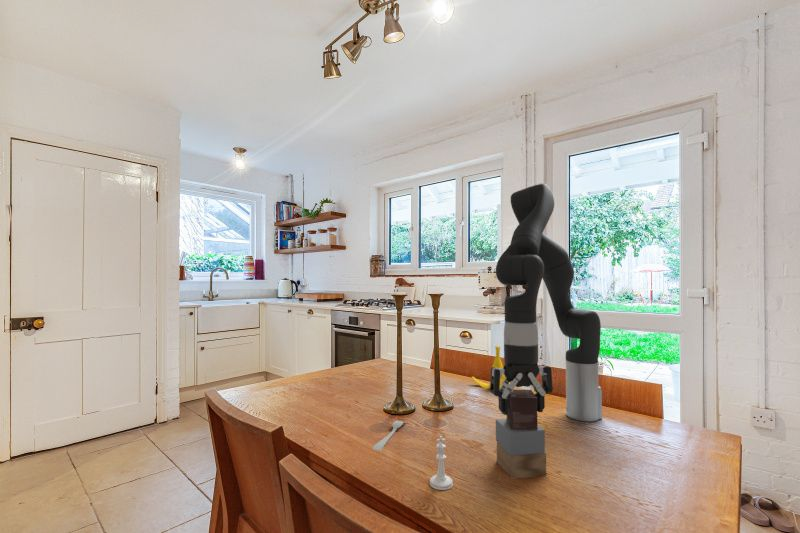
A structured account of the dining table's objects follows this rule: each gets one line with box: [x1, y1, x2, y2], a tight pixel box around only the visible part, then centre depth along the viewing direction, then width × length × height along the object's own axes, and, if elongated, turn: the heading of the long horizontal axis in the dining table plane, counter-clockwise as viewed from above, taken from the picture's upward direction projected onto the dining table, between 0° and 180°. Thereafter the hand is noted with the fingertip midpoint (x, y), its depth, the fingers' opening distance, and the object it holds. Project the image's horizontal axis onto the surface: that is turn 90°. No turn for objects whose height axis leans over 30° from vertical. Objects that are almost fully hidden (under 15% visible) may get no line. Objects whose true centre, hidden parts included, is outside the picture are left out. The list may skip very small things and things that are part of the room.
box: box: [506, 389, 539, 430], centre depth 89 cm, size 6×6×7 cm
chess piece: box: [429, 435, 454, 491], centre depth 83 cm, size 5×5×10 cm
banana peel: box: [471, 345, 510, 390], centre depth 154 cm, size 17×19×17 cm
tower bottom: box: [496, 441, 547, 480], centre depth 89 cm, size 8×8×5 cm
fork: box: [372, 420, 408, 451], centre depth 108 cm, size 3×21×3 cm, turn 158°
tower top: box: [495, 418, 546, 456], centre depth 90 cm, size 8×8×5 cm
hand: (521, 412), depth 89 cm, fingers open, 8 cm apart
